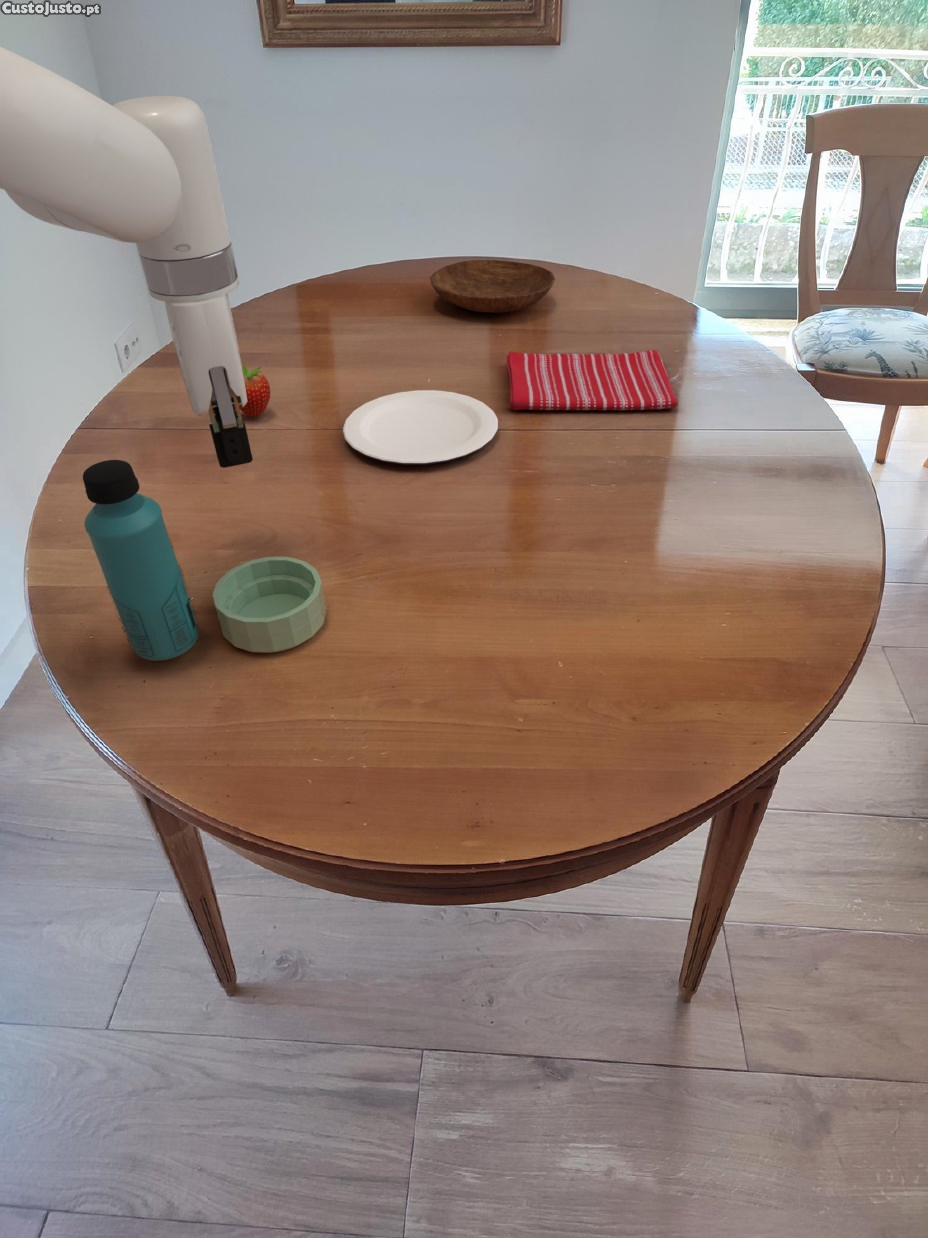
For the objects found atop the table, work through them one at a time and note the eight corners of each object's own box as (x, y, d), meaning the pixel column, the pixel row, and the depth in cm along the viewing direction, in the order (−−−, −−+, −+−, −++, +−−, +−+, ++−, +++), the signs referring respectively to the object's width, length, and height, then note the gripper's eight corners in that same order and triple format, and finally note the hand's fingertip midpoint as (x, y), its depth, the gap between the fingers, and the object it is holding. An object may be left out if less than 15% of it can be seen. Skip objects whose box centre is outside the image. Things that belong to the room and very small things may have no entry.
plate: (415, 387, 125) (415, 376, 123) (529, 426, 114) (529, 415, 113) (311, 441, 112) (309, 429, 111) (427, 490, 102) (427, 478, 101)
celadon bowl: (231, 669, 79) (221, 632, 76) (216, 605, 86) (206, 570, 83) (337, 641, 81) (331, 605, 78) (314, 582, 89) (307, 547, 86)
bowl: (457, 281, 160) (457, 254, 157) (568, 294, 153) (569, 266, 150) (412, 317, 146) (410, 288, 143) (531, 333, 139) (532, 303, 136)
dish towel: (506, 364, 130) (506, 347, 128) (660, 363, 129) (662, 346, 127) (506, 414, 117) (506, 397, 115) (677, 413, 116) (680, 395, 114)
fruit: (270, 406, 121) (260, 352, 116) (278, 421, 117) (268, 366, 112) (233, 414, 119) (221, 359, 114) (240, 429, 116) (228, 374, 111)
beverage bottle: (214, 656, 80) (160, 472, 67) (146, 684, 77) (76, 498, 64) (190, 620, 84) (135, 440, 71) (124, 646, 81) (55, 464, 69)
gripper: (138, 250, 75) (188, 435, 87) (152, 305, 64) (207, 508, 76) (222, 239, 77) (260, 421, 89) (249, 290, 66) (288, 490, 78)
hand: (235, 461), depth 83 cm, fingers closed
